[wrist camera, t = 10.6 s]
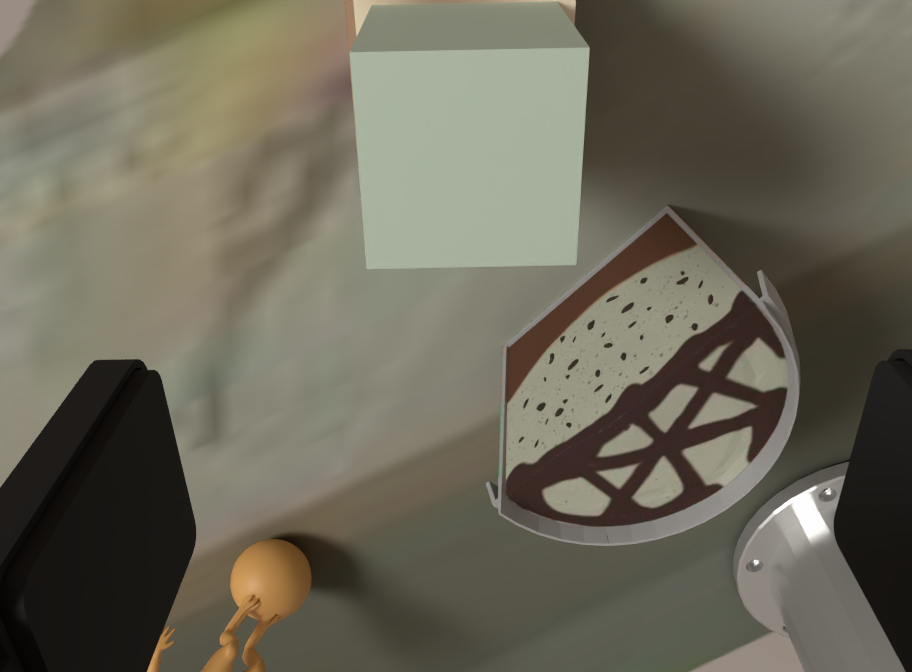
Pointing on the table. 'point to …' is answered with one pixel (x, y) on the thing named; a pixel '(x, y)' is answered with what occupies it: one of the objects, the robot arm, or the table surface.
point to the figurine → (256, 600)
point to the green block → (469, 134)
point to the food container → (645, 395)
